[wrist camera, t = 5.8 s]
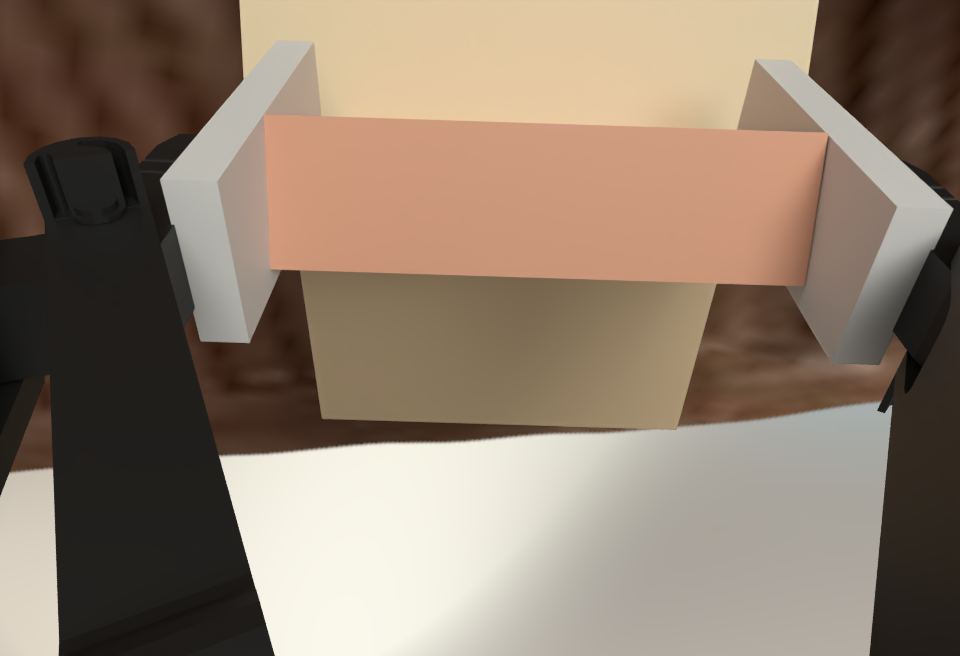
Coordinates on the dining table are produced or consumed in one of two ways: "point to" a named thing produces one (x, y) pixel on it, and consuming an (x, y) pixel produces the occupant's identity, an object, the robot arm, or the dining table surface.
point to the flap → (539, 140)
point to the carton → (503, 348)
